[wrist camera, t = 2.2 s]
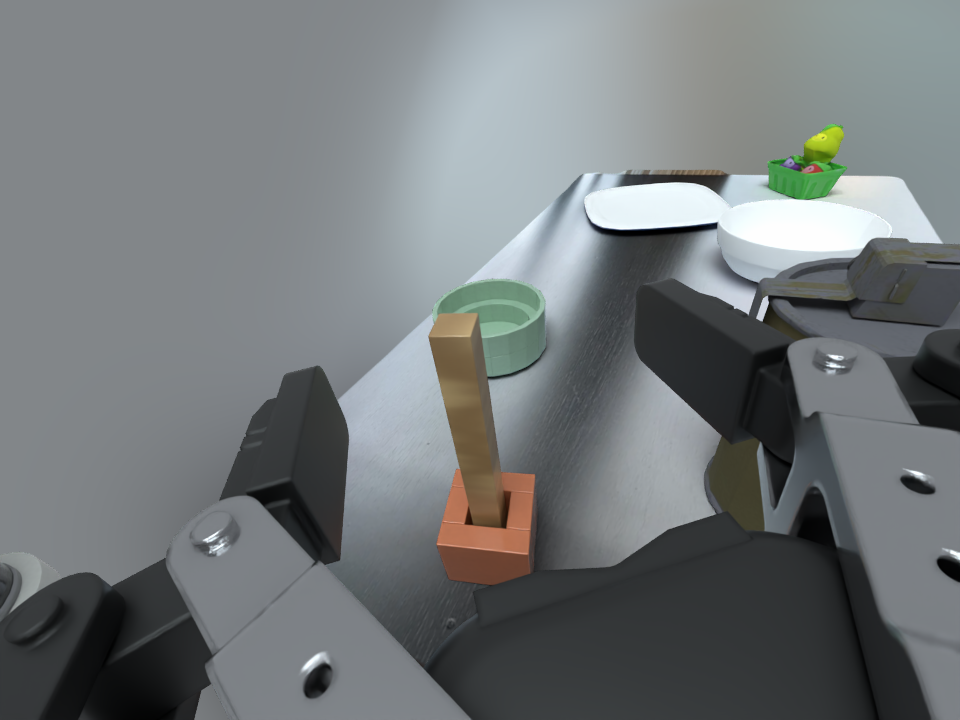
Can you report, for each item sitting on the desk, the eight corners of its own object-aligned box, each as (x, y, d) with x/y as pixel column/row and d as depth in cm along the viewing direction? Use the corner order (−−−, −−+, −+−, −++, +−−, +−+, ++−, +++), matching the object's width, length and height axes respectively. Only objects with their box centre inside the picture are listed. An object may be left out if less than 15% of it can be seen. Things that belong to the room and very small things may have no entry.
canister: (850, 464, 33) (1020, 215, 21) (888, 592, 26) (1182, 325, 14) (699, 433, 37) (767, 210, 25) (695, 535, 30) (787, 293, 18)
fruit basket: (757, 187, 84) (775, 125, 78) (799, 181, 85) (820, 118, 78) (798, 203, 75) (821, 135, 69) (845, 196, 76) (873, 127, 69)
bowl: (689, 252, 65) (698, 206, 61) (815, 242, 63) (834, 193, 59) (736, 311, 51) (753, 257, 47) (902, 302, 49) (936, 243, 44)
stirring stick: (480, 556, 31) (427, 336, 19) (484, 530, 32) (438, 313, 20) (506, 559, 30) (470, 336, 18) (510, 533, 32) (478, 312, 20)
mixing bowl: (429, 379, 48) (418, 337, 44) (454, 318, 58) (447, 280, 54) (543, 382, 45) (541, 337, 42) (548, 317, 55) (547, 277, 52)
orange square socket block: (448, 580, 30) (435, 544, 26) (465, 506, 34) (455, 468, 31) (532, 591, 28) (528, 554, 25) (537, 512, 33) (535, 474, 30)
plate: (580, 197, 93) (580, 189, 92) (699, 187, 89) (701, 178, 88) (591, 240, 73) (592, 231, 72) (745, 229, 69) (748, 219, 68)
